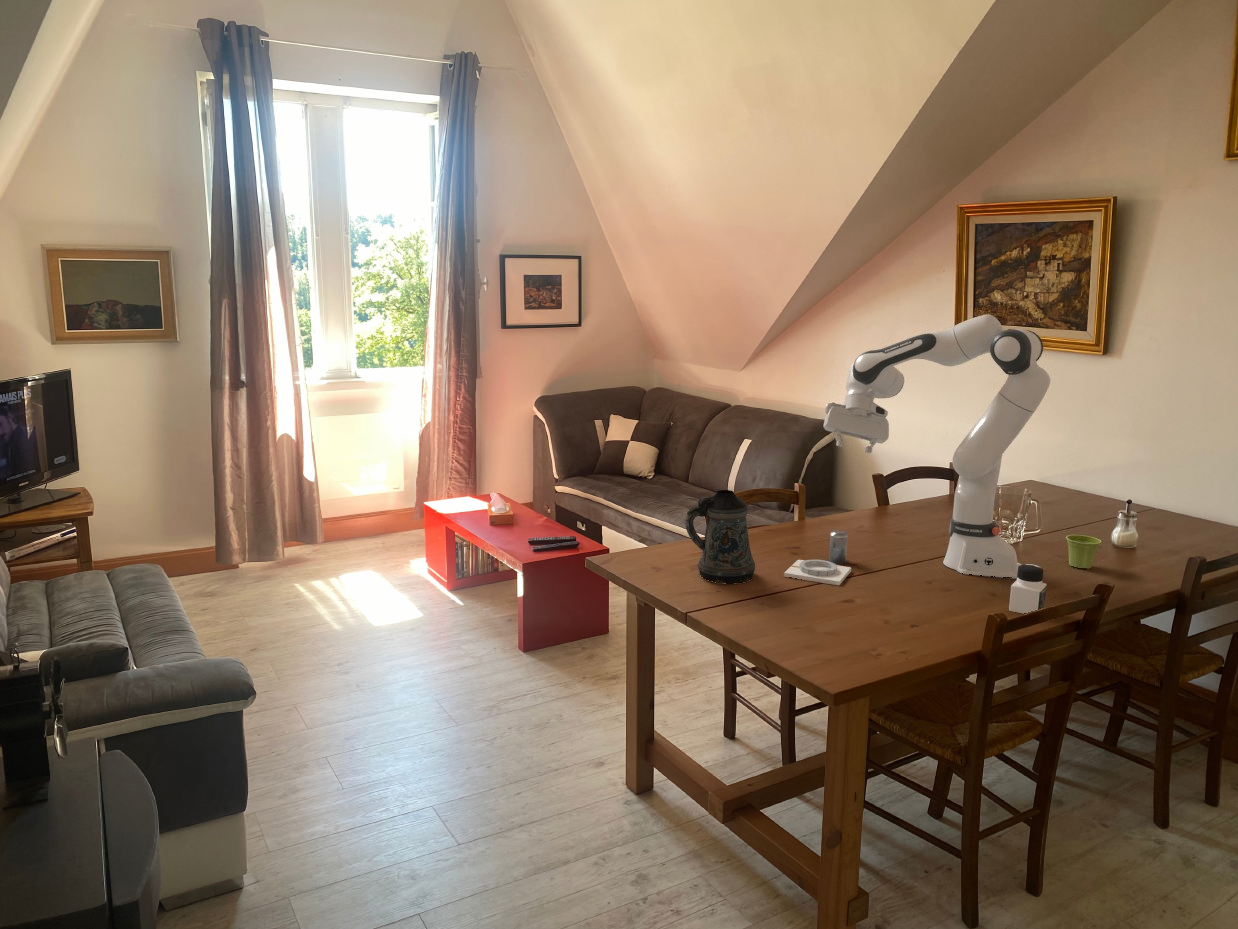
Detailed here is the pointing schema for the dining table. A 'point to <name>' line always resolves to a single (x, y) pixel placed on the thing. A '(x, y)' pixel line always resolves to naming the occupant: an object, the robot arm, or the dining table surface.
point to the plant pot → (1082, 550)
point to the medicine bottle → (1028, 590)
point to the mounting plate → (819, 578)
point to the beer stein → (723, 538)
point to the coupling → (838, 546)
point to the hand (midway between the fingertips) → (854, 449)
